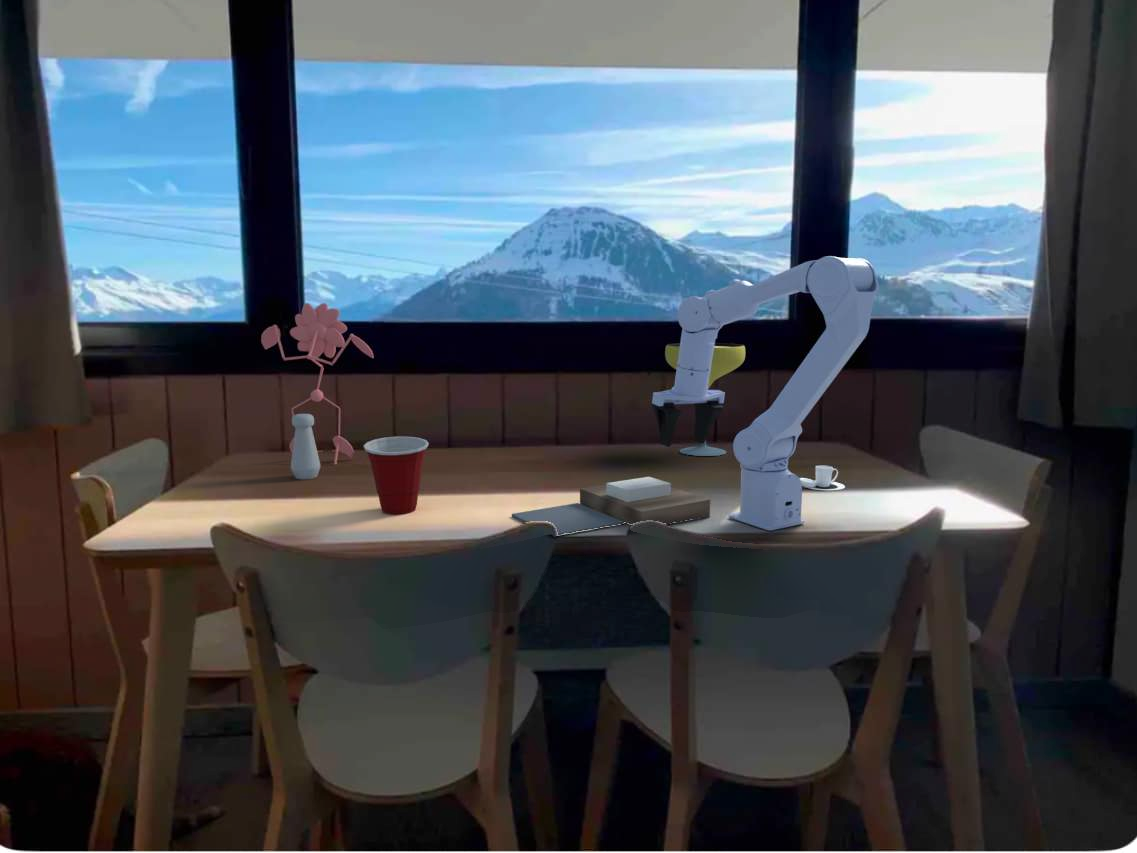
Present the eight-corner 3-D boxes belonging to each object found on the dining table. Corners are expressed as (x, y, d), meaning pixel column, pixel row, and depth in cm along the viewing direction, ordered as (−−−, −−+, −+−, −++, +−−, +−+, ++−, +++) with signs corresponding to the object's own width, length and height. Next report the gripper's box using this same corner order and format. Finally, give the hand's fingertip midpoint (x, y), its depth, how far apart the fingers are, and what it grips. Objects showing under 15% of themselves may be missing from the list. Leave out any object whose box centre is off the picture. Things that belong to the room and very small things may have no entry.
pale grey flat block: (648, 487, 141) (648, 476, 141) (670, 494, 136) (670, 483, 136) (606, 494, 136) (606, 483, 136) (627, 502, 131) (627, 490, 131)
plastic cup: (364, 520, 132) (360, 449, 130) (368, 504, 143) (365, 437, 141) (430, 517, 134) (428, 446, 132) (430, 501, 144) (428, 435, 143)
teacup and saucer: (795, 490, 153) (796, 469, 152) (798, 481, 160) (799, 461, 159) (844, 494, 150) (845, 472, 149) (845, 484, 157) (846, 464, 156)
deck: (709, 517, 133) (710, 499, 133) (641, 530, 126) (642, 511, 125) (644, 494, 148) (644, 478, 148) (580, 505, 141) (579, 488, 141)
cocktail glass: (648, 453, 187) (649, 345, 183) (690, 442, 201) (692, 342, 197) (716, 463, 175) (719, 348, 171) (756, 451, 189) (760, 344, 185)
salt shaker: (286, 477, 164) (282, 414, 162) (311, 473, 168) (308, 411, 166) (300, 481, 160) (296, 417, 158) (326, 477, 164) (323, 414, 162)
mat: (624, 524, 129) (624, 521, 129) (554, 537, 122) (554, 534, 122) (577, 505, 141) (577, 503, 141) (511, 516, 134) (511, 513, 134)
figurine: (371, 466, 174) (364, 303, 169) (257, 464, 177) (246, 303, 171) (393, 452, 189) (387, 302, 184) (288, 451, 192) (278, 303, 186)
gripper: (710, 362, 144) (699, 434, 148) (645, 362, 137) (635, 439, 140) (737, 370, 139) (725, 445, 142) (671, 372, 131) (660, 451, 135)
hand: (682, 443), depth 141 cm, fingers open, 7 cm apart
